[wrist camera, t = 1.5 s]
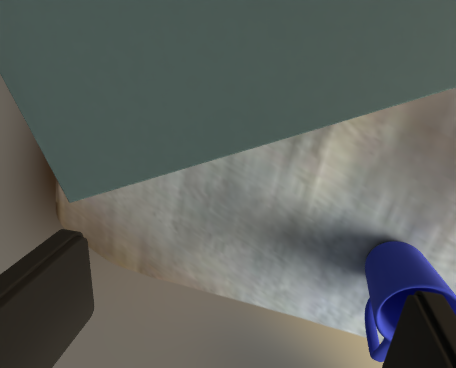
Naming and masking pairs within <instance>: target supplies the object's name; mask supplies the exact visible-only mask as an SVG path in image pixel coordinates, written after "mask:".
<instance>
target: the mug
mask: <svg viewBox="0 0 456 368" xmlns="http://www.w3.org/2000/svg"><path fill="white" fill-rule="evenodd" d="M365 274H366V279H367V284H368V290H369V295H370V298H369V300H368V302H367V304H366V308H365V328H366V335H367V341H368V347H369V352H370V356H371V358H372V359H374V360H376V361H379V362H383V361H384V360H385V357H386V354H387V352H388V349H389V346H390V343H391V340H392V337H393V335H394V332H395V329H396V326H397V323H398V321H399V318H400V315H401V312H402V309H403V306H404V304H405V301H406V298H407V296H408V295H414V293H415V292H416V291H425V292H431V293H437V294H441V295H443V296H444V297H445V298H446V300H447V302H448V303H449V305H450V306H451V308H452V310H453V311H454V313H455V315H456V295H455V294H454V292H453V291H452V290H451V289H450V288H449V286H448V285H447V284H446V283H445V281H444V280H443V279H442V278H441V276H440V275H439V274H438V273H437V272H436V270H435V269H434V268H433V267H432V265H431V264H430V263H429V262H428V261H427V259H426V258H425V257H424V256H423V254H422V253H421V252H420V251H419V250H417V249H416V248H415V247H413V246H411V245H409V244H407V243H404V242H399V241H390V242H385V243H382V244H380V245H378V246H376V247H375V248H374V249H372V251H371V252H370V253H369V254H368V256H367V258H366V261H365ZM376 327H377V329H378V331H379V332H380V333H381V335H382V336H383V337H384V340H383V341H382V343H381V344H379V340H378V335H377V329H376Z"/></svg>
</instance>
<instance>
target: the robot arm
mask: <svg viewBox="0 0 456 368" xmlns="http://www.w3.org/2000/svg"><path fill="white" fill-rule="evenodd" d="M93 311H94V299H93V289H92V280H91V270H90V261H89V250H88V242H87V239H86V238H84V237H83V234H82V233H81V232H77V231H71V230H65V229H61V230H59V231H58V232H56V233H55V234H54V235H52V236H51V237H50V238H48V239H47V240H46V241H44V242H43V243H42V244H40V245H39V246H38V247H36V248H35V249H34V250H33V251H31V252H30V253H28V254H27V255H26V256H24V257H23V258H22V259H20V260H19V261H18V262H17V263H15V264H14V265H12V266H11V267H10V268H9V269H7V270H6V271H4V272H3V273H2V274H1V275H0V368H52V367H53V366H54V364H55V363H56V362H57V360H58V359H59V358H60V357H61V355H62V354H63V353H64V352H65V350H66V349H67V348H68V346H69V345H70V344H71V342H72V341H73V340H74V339H75V337H76V336H77V335H78V333H79V332H80V331H81V329H82V328H83V327H84V326H85V324H86V323H87V322H88V320H89V319H90V317H91V316H92V314H93ZM382 368H456V315H455V313H454V311H453V310H452V308H451V306H450V305H449V303H448V302H447V300H446V298H445V297H444V296H443V295H441V294H437V293H431V292H425V291H416V292H415V293H414V295H408V296H407V298H406V301H405V304H404V306H403V309H402V312H401V315H400V318H399V321H398V323H397V326H396V329H395V332H394V335H393V337H392V340H391V343H390V346H389V349H388V352H387V354H386V357H385V360H384V363H383V367H382Z"/></svg>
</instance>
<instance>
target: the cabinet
mask: <svg viewBox="0 0 456 368" xmlns="http://www.w3.org/2000/svg"><path fill="white" fill-rule="evenodd" d="M0 74H1V76H2V78H3V79H4V81H5V83H6V85H7V87H8V89H9V91H10V93H11V94H12V96H13V98H14V100H15V102H16V104H17V106H18V108H19V109H20V111H21V113H22V115H23V117H24V119H25V121H26V122H27V124H28V126H29V128H30V130H31V132H32V134H33V135H34V137H35V139H36V141H37V143H38V145H39V147H40V149H41V150H42V152H43V154H44V156H45V158H46V160H47V162H48V163H49V165H50V167H51V169H52V171H53V173H54V175H55V177H56V178H57V180H58V182H59V184H60V186H61V188H62V190H63V191H64V193H65V195H66V197H67V199H68V201H69V202H70V203H71V202H74V201H78V200H81V199H84V198H88V197H91V196H94V195H98V194H101V193H104V192H108V191H111V190H114V189H118V188H121V187H124V186H128V185H131V184H135V183H138V182H141V181H145V180H148V179H151V178H155V177H158V176H161V175H165V174H168V173H171V172H175V171H178V170H181V169H185V168H188V167H191V166H195V165H198V164H201V163H205V162H208V161H212V160H215V159H218V158H222V157H225V156H228V155H232V154H235V153H238V152H242V151H245V150H248V149H252V148H255V147H258V146H262V145H265V144H268V143H272V142H275V141H278V140H282V139H285V138H289V137H292V136H295V135H299V134H302V133H305V132H309V131H312V130H315V129H319V128H322V127H325V126H329V125H332V124H335V123H339V122H342V121H345V120H349V119H352V118H355V117H359V116H362V115H366V114H369V113H372V112H376V111H379V110H382V109H386V108H389V107H392V106H396V105H399V104H402V103H406V102H409V101H412V100H416V99H419V98H422V97H426V96H429V95H432V94H436V93H439V92H442V91H446V90H449V89H453V88H456V0H0Z"/></svg>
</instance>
